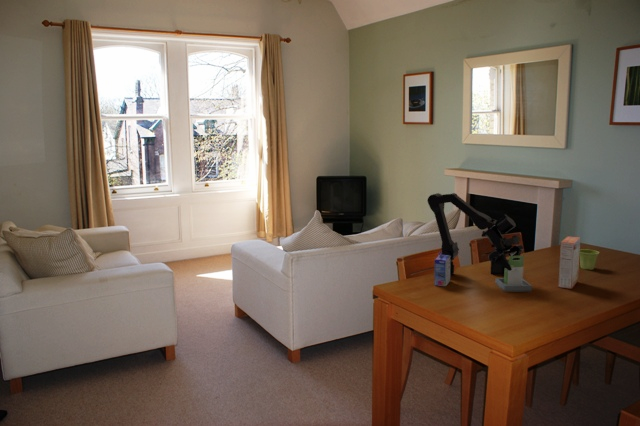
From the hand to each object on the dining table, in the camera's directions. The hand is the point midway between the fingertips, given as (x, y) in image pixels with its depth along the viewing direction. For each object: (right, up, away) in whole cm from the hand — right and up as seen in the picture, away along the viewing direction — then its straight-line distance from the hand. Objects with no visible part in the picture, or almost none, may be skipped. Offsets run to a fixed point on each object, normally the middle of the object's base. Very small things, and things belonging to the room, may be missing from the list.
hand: (516, 268), depth 239 cm
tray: (-1, -9, +2) cm, 9 cm away
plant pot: (+47, -3, +33) cm, 58 cm away
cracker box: (+25, -8, +6) cm, 27 cm away
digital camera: (+1, -5, +23) cm, 24 cm away
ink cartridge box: (-31, -8, +9) cm, 33 cm away
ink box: (-1, -7, +2) cm, 8 cm away
